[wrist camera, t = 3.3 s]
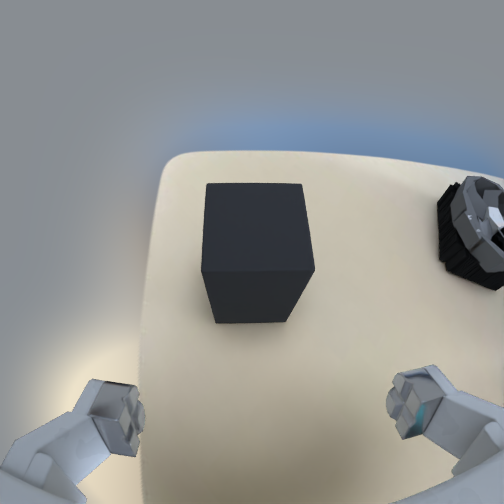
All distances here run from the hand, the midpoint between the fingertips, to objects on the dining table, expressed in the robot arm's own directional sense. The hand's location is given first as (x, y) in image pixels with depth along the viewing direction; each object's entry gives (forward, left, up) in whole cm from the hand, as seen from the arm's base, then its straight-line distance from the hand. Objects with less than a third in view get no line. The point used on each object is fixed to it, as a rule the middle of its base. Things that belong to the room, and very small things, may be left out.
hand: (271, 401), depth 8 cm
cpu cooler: (+15, +21, -12) cm, 29 cm away
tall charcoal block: (-4, +7, -11) cm, 14 cm away
